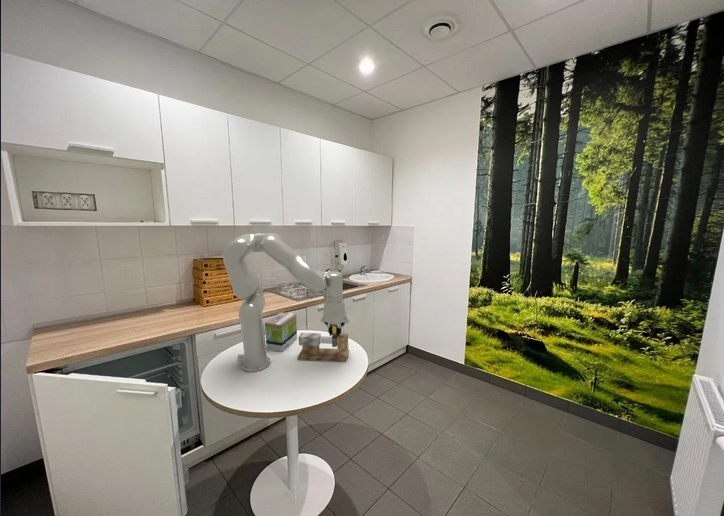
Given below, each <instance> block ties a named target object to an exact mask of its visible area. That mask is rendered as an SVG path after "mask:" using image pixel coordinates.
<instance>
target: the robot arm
mask: <svg viewBox="0 0 724 516" xmlns="http://www.w3.org/2000/svg"><path fill="white" fill-rule="evenodd" d="M258 252H264V254H266V255H267V256H269V257H270V258H271V259H272V260H274V261H275V262H277V264H279V265H281V266H282V267H283V268H285V270H286V271H288V272H289V274H290V275H291V276H293V277H294V278H295V279H296V280H297V282H299V283H300V284H301V285H303V286H304V287H305V288H307V289H308V290H309V291H311V292H313V293H316V294H317V293H323V292H324V291H325V290H326V292H325V293H326V294H325V295H323V296H322V297H323V299H325V301H324V305H323V312H322V313H323V315H322V317H321V319H320V322H321V323H323V324H325V326H327V328H328V329H327V330H328V332H327V333H328V334H329V337H332V330H331V324H333V323H337V324H338V336H339V335H340V334H341V333H342V327H344V326H345V325H347V324H349V322H350V320H349V318H348V317H347V315H346V314H347V312H346V304H345V300H344V299H343V297H344V295H343V293H344V291H343V286H344V285H343V284H344V283H343V280H344V279H343V277H344V276H343V273H342V272H340V271H336V270H335V271H333V270H332V271H323V270H313V269H312V268H310V266H308V264H307V263H306V261H304V259H303V257H302V256H301V254H299V253H298V252H297V251H296V250H294V249H293V248H292V247H290V246H289V245H287V244H286V242H284V241H283V239H282V237H281V236H280V235H279V234H277V233H276V232H264V233H246V234H242V235H239V236H238V237H236V238H234V239H233V240H232V241H230V242H229V243H228V245H227V246H226V247H225V249H224V250H223V254H222V255H223V256H222V259H223V264H224V267H225V270H226V273H227V275H228V276H227V277H228V280H229V283H230V285H231V289H232V291H233V294H234V295H235V296H236V298H238V299H239V300H240V299H241V300H243V302H242V303H241V305H240V306H239V310H238V319H239V323H240V328H241V335H242V336H241V337H242V345H243V353H242V354H237V362H242V363H241V368H242V370H243V371H245V372H248V373H255V372H258V371H259V372H260V371H263V370H264V369H266V368H267V367H269V366H270V364H271V361H272V360H271V358H270V356H268V355H267V349H266V333H265V323H264V319H263V311H264V309H265V307H266V300H265V297H264V293H263V290H262V286H261V284H260V281H259V278H258V277H257V275H256V274H254V273H251V272H250V269H249V267H248V264H247V263H246V257H248V256H249V255H251V254H252V253H258Z"/></svg>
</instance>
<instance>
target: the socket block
mask: <svg viewBox="0 0 724 516" xmlns="http://www.w3.org/2000/svg"><path fill="white" fill-rule="evenodd" d="M336 349H337V354H338V357H347V355H348V352H349V353H350V350H349V351H348V349H349V333H344V332H343V333H342V332H341V334H340V335H339V336H338V337H337V347H336ZM348 356H349V355H348Z"/></svg>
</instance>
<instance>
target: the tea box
mask: <svg viewBox="0 0 724 516" xmlns="http://www.w3.org/2000/svg"><path fill="white" fill-rule="evenodd" d="M297 329H298V327H297V313H289V312H288V313H287V312H282V311H280V312H278V314H276V315H275V316H273V317H271V318H270V319H268V320H267V321H266V322H264V333H265V344H266V350H269V351H276V352H281V353H282V352H284V351H285V350H287V349H288V348H289V347H290V346H291V344H293V343H294V342H295V341H296V340H297V339H298V330H297Z"/></svg>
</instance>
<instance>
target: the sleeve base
mask: <svg viewBox="0 0 724 516" xmlns="http://www.w3.org/2000/svg"><path fill="white" fill-rule="evenodd" d="M320 336H322V334H321V333H319V332H317V333H316V332H301V333H300V334H299V336H298V344H299V345H298V346H302V348H301V350H300V352H299V353H298V355H297V361H311V362H312V361H314V362H315V361H316V362H317V361H318V362H335V363H337V362H338V363H347V362H346V361H348V357H349V355H350V354H349V353H350V349H349V348H348V351H349V352H348V355H347V357H338V354H337V348H323V347H322V348H321V347H320V345H321V343H319V337H320Z"/></svg>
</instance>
